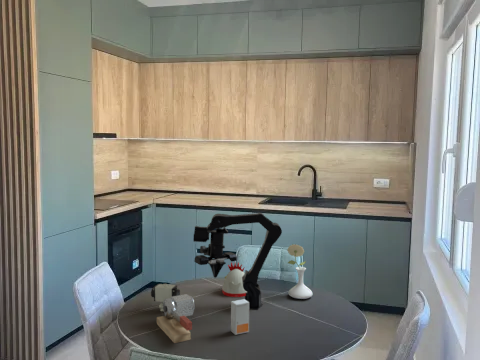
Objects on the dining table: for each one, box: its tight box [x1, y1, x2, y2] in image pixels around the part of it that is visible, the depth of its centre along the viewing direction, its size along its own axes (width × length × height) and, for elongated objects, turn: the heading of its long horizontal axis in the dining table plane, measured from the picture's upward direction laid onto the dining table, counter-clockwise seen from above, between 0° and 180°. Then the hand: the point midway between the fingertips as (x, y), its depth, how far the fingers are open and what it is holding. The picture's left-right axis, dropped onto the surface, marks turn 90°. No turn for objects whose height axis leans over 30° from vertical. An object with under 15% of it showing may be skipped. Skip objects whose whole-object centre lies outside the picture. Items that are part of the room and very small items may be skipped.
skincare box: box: [230, 298, 250, 336], centre depth 172 cm, size 6×4×12 cm
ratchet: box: [163, 298, 193, 331], centre depth 174 cm, size 10×24×8 cm, turn 29°
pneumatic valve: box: [150, 283, 181, 313], centre depth 194 cm, size 6×12×12 cm, turn 76°
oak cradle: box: [156, 315, 192, 344], centre depth 173 cm, size 7×20×5 cm, turn 29°
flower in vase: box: [286, 243, 313, 300], centre depth 211 cm, size 13×11×25 cm
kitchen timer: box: [221, 261, 247, 298], centre depth 217 cm, size 14×14×15 cm
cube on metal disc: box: [171, 293, 196, 317], centre depth 182 cm, size 8×7×7 cm
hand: (215, 277), depth 197 cm, fingers closed
